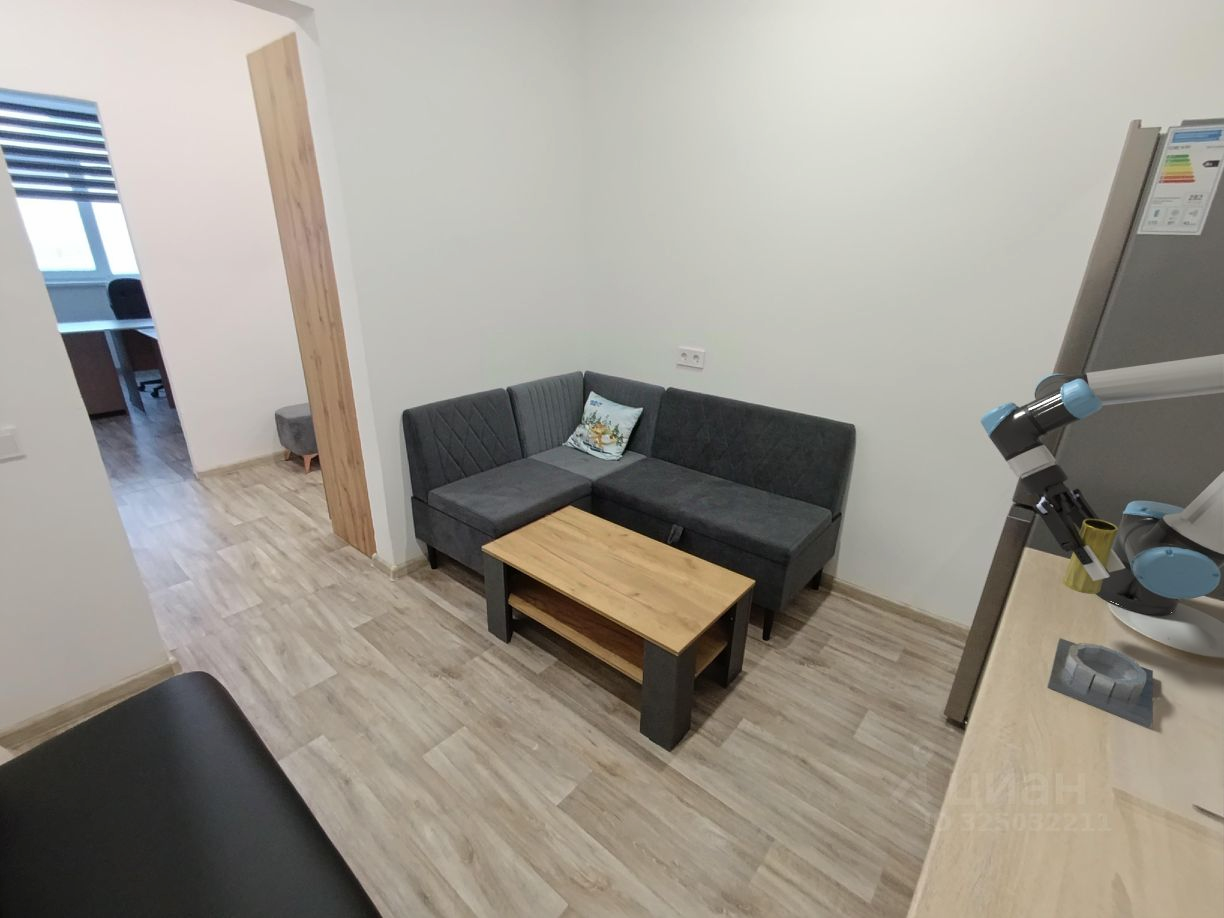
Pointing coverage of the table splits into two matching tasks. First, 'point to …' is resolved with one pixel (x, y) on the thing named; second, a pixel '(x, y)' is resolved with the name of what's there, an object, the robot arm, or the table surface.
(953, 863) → the table surface
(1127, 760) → the table surface
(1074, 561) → the vase
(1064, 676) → the collar stand
